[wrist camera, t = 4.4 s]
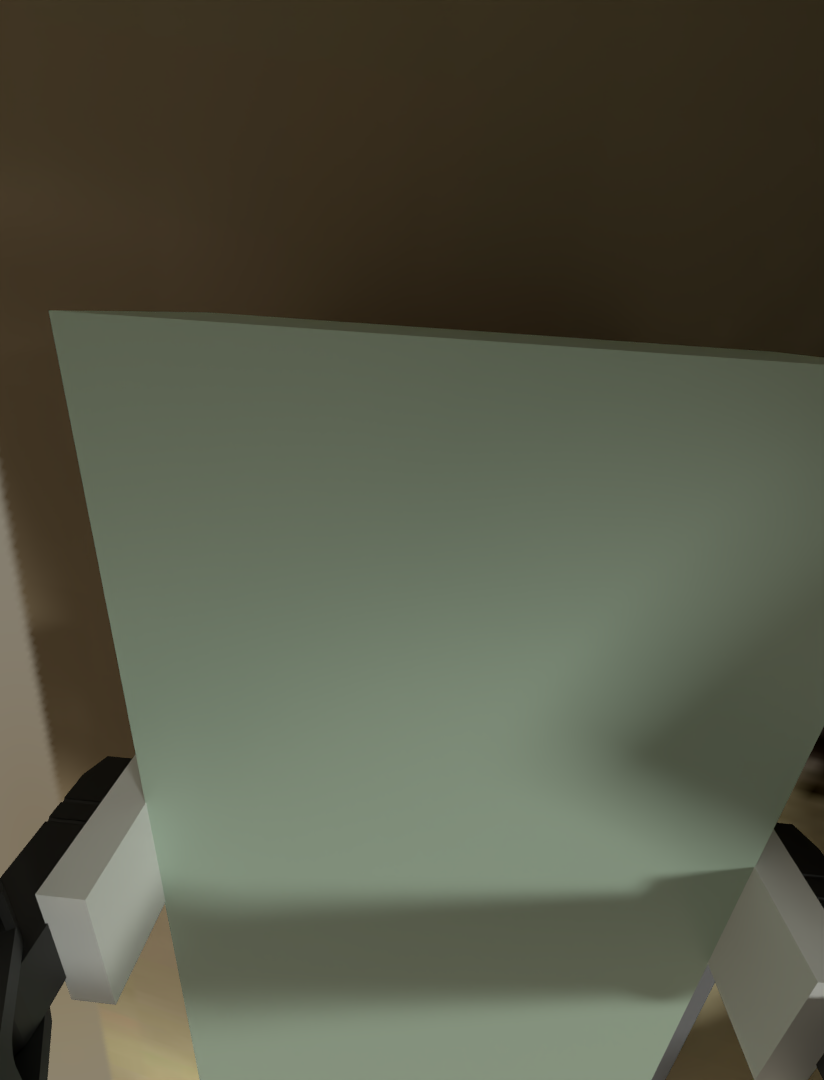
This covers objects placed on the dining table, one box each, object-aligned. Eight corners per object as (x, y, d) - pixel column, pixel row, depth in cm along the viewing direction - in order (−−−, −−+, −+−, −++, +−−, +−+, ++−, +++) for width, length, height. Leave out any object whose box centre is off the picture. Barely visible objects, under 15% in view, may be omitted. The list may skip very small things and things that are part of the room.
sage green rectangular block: (205, 312, 10) (48, 310, 6) (771, 351, 9) (994, 375, 6) (259, 922, 17) (203, 1098, 13) (578, 959, 17) (616, 1151, 13)
